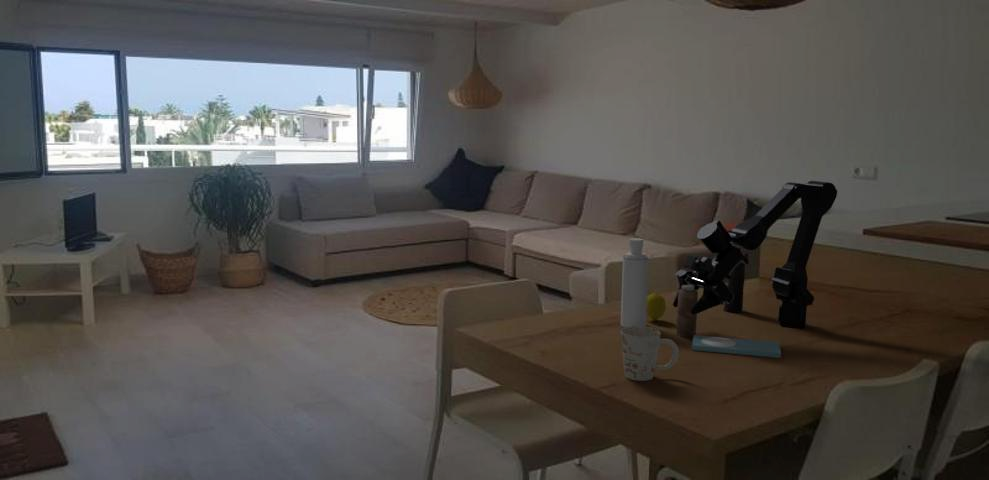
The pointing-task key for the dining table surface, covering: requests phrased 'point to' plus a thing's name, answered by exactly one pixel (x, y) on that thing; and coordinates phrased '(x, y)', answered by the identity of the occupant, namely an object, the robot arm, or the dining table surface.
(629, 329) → the mug
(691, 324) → the pepper mill
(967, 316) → the dining table surface
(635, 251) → the white bottle
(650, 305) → the lemon
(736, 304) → the butter churn
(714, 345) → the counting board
